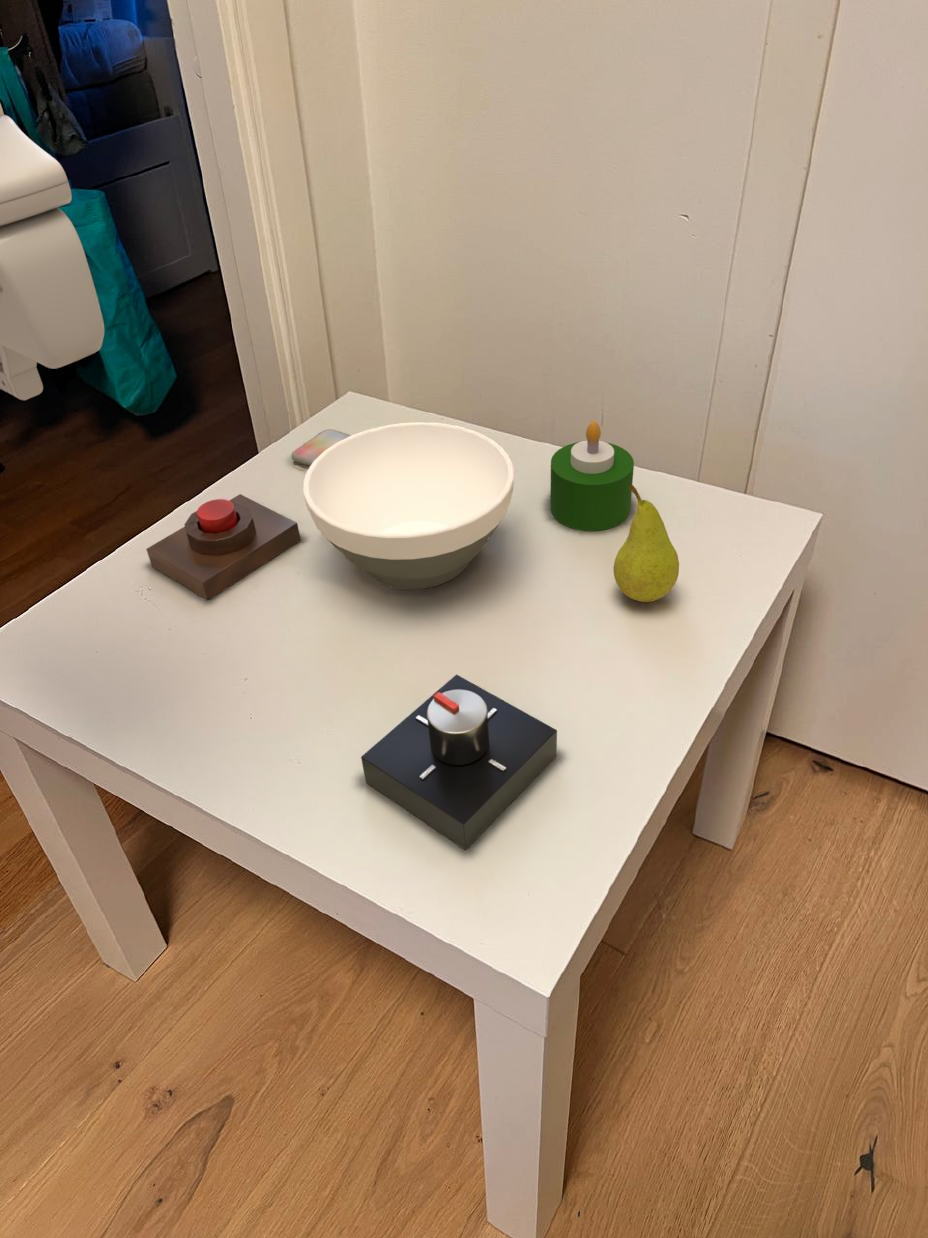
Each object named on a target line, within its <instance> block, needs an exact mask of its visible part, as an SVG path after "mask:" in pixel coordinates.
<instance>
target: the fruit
mask: <svg viewBox="0 0 928 1238" xmlns="http://www.w3.org/2000/svg"><path fill="white" fill-rule="evenodd" d="M628 488H629V489H630V490H631V491H632V494H634V495H635V497H636V499H637V505H636V513H635V514H634V516H633V518H632V520H631V522H630V526H629V531H628V535H627V537H626V540H625V541H624V543H623V544H622V545H621V547H620V548H619V549H618V551H617V553H616V555H615V558H614V563H613V577H614V581H615V583H616V585H617V587H618V589H619V590H620V591H621V592H622V593H623V594H624V595H625V596H626V597H628V598H629V599H631V600H634V601H637V602H640V603H641V602H642V603H651V602H655V601H657V600H660V599H662V598H663V597H665V596H666V595H667V594H668V593H669V592H670V591H671V590H672V589H673V587H674V586H675V585H676V583H677V582H678V581H677V580H678V577H679V574H680V561H679V555H678V552H677V550H676V548H675V547H674V545H673V544H672V542H671V539H670V537H669V534H668V531H667V529H666V526H665V524H664V521H663V519H662V517H661V515H660V512H659V511H658V509H657V508H656V506H655V505H654V504H653V503H652V502H651V501H648V500H646V499H642V497H641V496H640V494H639V492H638V489H637V488H636V487H635V486H634V485H633V483H632V484H630V485H629V487H628Z"/></svg>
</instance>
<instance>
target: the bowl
mask: <svg viewBox="0 0 928 1238" xmlns="http://www.w3.org/2000/svg"><path fill="white" fill-rule="evenodd" d="M351 435H352V436H350V437H347V438H345V439H343V440H341V441H339V442H337V443H336V444H334V445H333V446H331V447H330V448H328V449H327V450H325V451H324V452H323V453H322V454H321V455H320V456H319V457H318V458H317V459H315V460H314V461H313V463H312V464H311V466H309V467H308V469H307V470H306V472H305V475H304V479H303V482H302V493H303V498H304V502H305V505H306V508H307V510H308V512H309V514H310V516H311V518H312V521H313V523H314V525H315V527H316V529H317V530H318V531H319V532H320V533H321V534H322V535H323V537H324V538H325V539H326V540H328V542H329V543H330V544H331V545H332V546H333V547H334V548H335V549H336V550H338V551H339V552H341V553H342V554H343V555H344V557H345V558H346V559H347V560H348V561H350V562H351V563H352V564H353V565H355V566H356V567H358V568H360V569H361V570H362V571H364V573H365V574H366V575H367V576H368V577H369V578H371V580H373V581H375V582H376V583H379V584H381V585H383V586H385V587H386V586H387V587H389V588H393V589H400V590H401V589H402V590H421V589H428V588H434V587H436V586H440V585H443V584H445V583H448V582H449V581H452V580H453V579H455V578H456V577H458V576H459V575H460V574H462V573H463V572H464V571H465V570H466V569H467V568H468V567H469V565H470V563H471V562H472V560H473V559H474V557H476V556H477V555H478V554H479V552H481V551H482V549H483V548H484V547H485V545H486V544H487V543H488V541H489V538H491V536H492V535H493V534H494V532H495V531H496V530H497V529H498V527H499V525H500V524H501V523H502V520H503V519H504V517H505V516H506V515H507V512H508V509H509V508H510V507H509V506H510V503H511V500H512V496H513V492H514V484H515V483H514V482H515V467H514V464H513V461H512V459H511V456H510V455H509V454H508V452H506V450H505V448H503V446H501V445H500V444H498V443H497V442H496V441H495V440H493V439H492V438H490V437H488V436H486V435H484V434H482V433H481V432H478V431H476V430H473V429H469V428H466V427H463V426H460V425H454V424H448V423H443V422H429V421H428V422H427V421H421V422H419V421H417V422H401V423H394V424H387V425H381V426H377V427H373V428H369V429H366V430H363V431H360V432H358V433H354V434H351Z"/></svg>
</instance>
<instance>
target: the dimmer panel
mask: <svg viewBox="0 0 928 1238" xmlns="http://www.w3.org/2000/svg"><path fill="white" fill-rule="evenodd" d="M457 689H460V690H468V691H471V692H474V693H476V694H477V695H479V696H480V697H481V698H482V699H483V700H484V701H485V703H486V705H487V710H488V730H489V746H488V749H487V751H486V752H485V754H484V755H483V756H482V757H481V758H479V759H478V760H476V761H475V762H472V763H469V764H465V765H451V764H448V763H445V762H443V761H441V760H439V759H438V758H437V757H436V756H435V755H434V754H433V752H432V750H431V746H430V738H429V729H428V720H427V709H428V706H429V704H430V702H431V701H432V700H433V699H434V695H435V694H436V693H438V692H440V693H443V692H446V691H450V690H457ZM557 745H558V729H556V728H554V727H552V726H550V725H549V724H547V723H545V722H543V721H541V720H539V719H538V718H536V717H535V716H533V715H531V714H529V713H527V712H525V711H523V710H522V709H519V708H518V707H516V706H514V705H513V704H511V703H509V702H507V701H506V700H503V699H502V698H500V697H499V696H497V695H494V694H493V693H491V692H489V691H488V690H485V689H484V688H482V687H480V686H478V685H477V684H474V683H473V682H471V681H469V679H466V678H464V677H462V676H460V675H459V674H455V675H454V676H453V677H452V678H451V679H449V680H448V681H446V683H444V684H443V686H441V687H440V688H439V689H438V690H437V691H435V692H434V693H433V694H432V695H431V696H430V697H429V698H427V699H426V700H425V701H424V702H423V703H421V704H420V705H419V706H418V707H417V708H416V709H415V710H413V711H412V712H411V713H410V714H409V715H408V716H406V717H405V718H404V719H403V720H402V721H400V723H398V724H397V725H396V726H395V727H393V729H392V730H390V731H389V732H388V733H387V734H386V735H384V736H383V738H381V739H380V740H379V741H378V742H376V743H375V744H374V745H373V746H372V747H370V748H369V749H368V750H367V751H366V752H365V753H364V754H362V755H361V757H360V759H361V766H362V769H363V775H364V779H365V783H366V784H367V785H369V786H370V787H372V788H373V789H374V790H375V791H377V792H379V793H380V794H382V795H383V796H385V797H386V798H388V799H390V801H393V802H394V803H396V804H397V805H398V806H400V807H401V808H403V809H405V811H407V812H409V813H410V814H412V815H413V816H415V817H416V818H417V819H419V820H420V821H422V822H423V823H424V824H426V825H427V826H429V827H431V828H433V829H434V830H435V831H437V832H438V833H440V834H441V835H443V836H444V837H446V838H447V839H448V840H450V841H452V842H453V843H454V844H456V845H457V846H459V847H460V848H462V849H463V850H465V851H466V850H468V848H469V847H470V846H472V844H473V843H474V842H475V841H476V840H477V839H478V838H479V837H480V836H481V835H482V834H483V833H484V832H485V831H486V830H487V829H488V828H489V827H490V825H492V824H493V823H494V821H496V819H498V817H500V816H501V814H503V812H504V811H505V810H506V809H507V808H508V807H509V806H510V805H511V804H512V803H513V802H514V801H515V800H516V799H517V798H518V797H519V796H520V794H522V793H523V792H524V790H525V789H526V788H528V786H529V785H530V784H531V783H532V782H533V781H534V780H535V779H536V778H537V777H538V776H539V775H540V774H541V773H542V772H543V771H544V770H545V769H546V767H548V766H549V765H550V763H551V762H553V760H555V758H556V757H557V754H558V753H557V751H558V749H557V747H558V746H557Z"/></svg>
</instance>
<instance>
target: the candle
mask: <svg viewBox="0 0 928 1238" xmlns="http://www.w3.org/2000/svg"><path fill="white" fill-rule="evenodd" d="M601 434H602V432H601V427H600V425H599V424H598V422H597V421H591V422H590V423H589V425H587V428H586V431H585V438H586V440H582V441H578V442H573V443H570V444H566V445H564V446H562V447H561V448H559V449H558V450H557V451H555V452H554V454H553V455H552V456H551V459H550V495H549V496H550V502H549V505H550V506H549V507H550V513H551V515H552V517H553V518H554V519H555V520H556V521H557V522H558V523H560V524H561V525H563V526H565V527H568V528H571V529H574V530H578V531H583V532H599V531H605V530H610V529H612V528H615V527H617V526H619V525H621V524H622V523H624V522H625V521H626V520H627V519H628V517H629V516H630V513H631V506H632V494H633V492H632V491H631V490H630V489H629V488H628V487H629V485H630V484H632V485H633V481H634V469H635V468H634V467H635V462H634V458H633V456H632V455H631V454H630V453H629V452H628V451H627V450H626V449H625V448H623V447H621V446H619V445H617V444H614V443H610V442H606V441H602V440H600V438H601Z"/></svg>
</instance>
